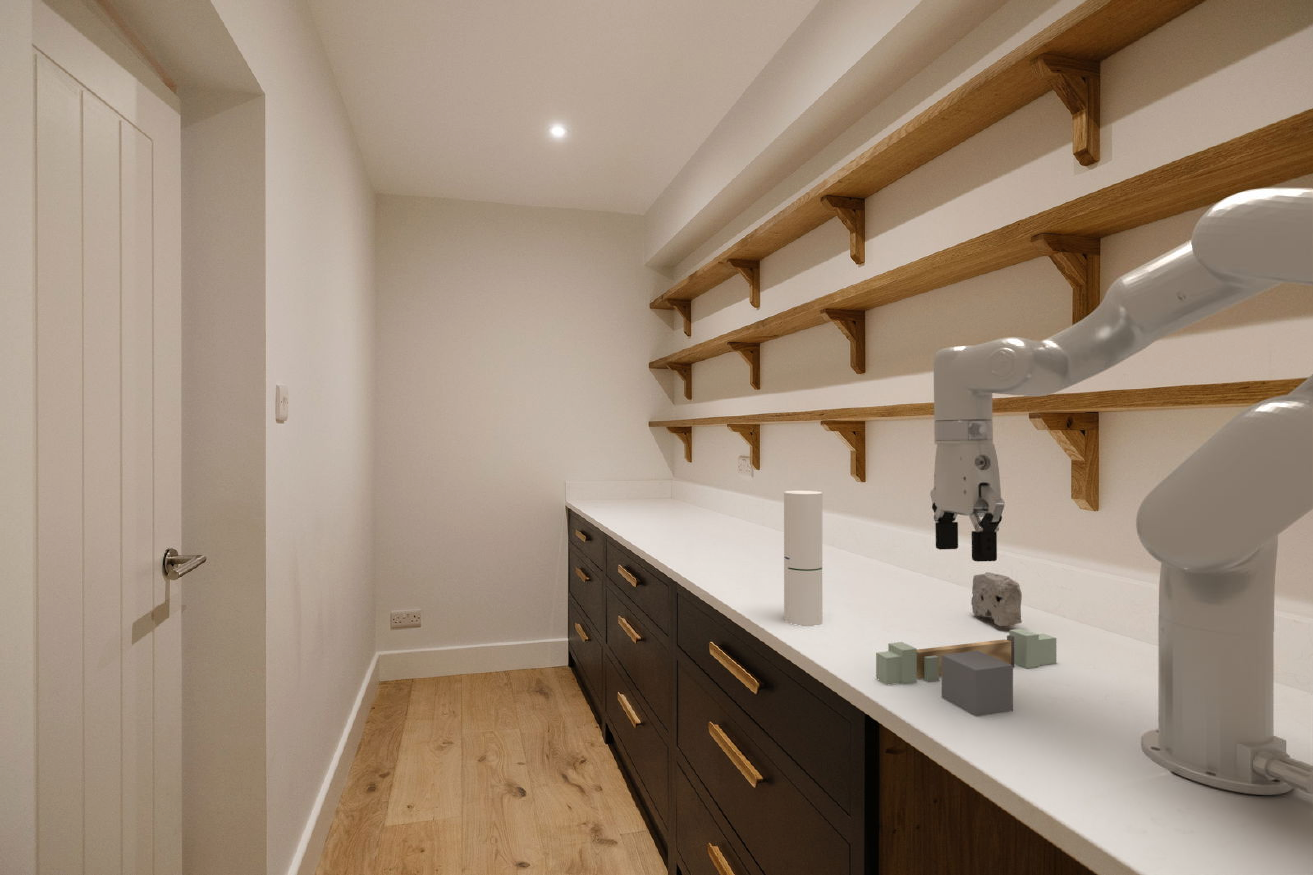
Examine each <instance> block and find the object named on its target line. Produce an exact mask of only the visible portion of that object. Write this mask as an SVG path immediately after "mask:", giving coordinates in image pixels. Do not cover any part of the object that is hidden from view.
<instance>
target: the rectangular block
mask: <svg viewBox="0 0 1313 875" xmlns="http://www.w3.org/2000/svg"><path fill="white" fill-rule="evenodd" d="M1013 670H1014V667H1013V665H1011V664H1008V663H1006V662H1004V661H1001V660H999V659H996V658H994V657H991V656H989V655H987V654H984V653H982V652H979V651H971V652H963V653H954V654H946V655H942V677H941V698H942V699H944V700H945V701H947V702H948V703H950V704H952V705H954V706H956V707H958V708H959V709H961V710H963V711H965V712H967V713H968V714H970V715H972V716H974V717H982V716H988V715H995V714H1001V713H1003V714H1004V713H1007V712H1013V711H1014V671H1013Z"/></svg>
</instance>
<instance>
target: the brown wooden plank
mask: <svg viewBox="0 0 1313 875" xmlns="http://www.w3.org/2000/svg"><path fill="white" fill-rule="evenodd" d="M971 651H979V652H982V653H984V654H987V655H989V656H991V657H994V658H996V659H999V660H1001V661H1004V662H1006V663H1008V664H1011V665H1013V668H1015V664H1014V636H1011V635H1006V639H996V640H989V641H987V640H986V641H981V642H979V641H978V642H971V643H962V644H953V645H944V646H943V645H942V646H936V647H928V648H920V649H919V648H918V649H917V679H918V680H924V657H926V656H935V655H936V656H938V657H939V678H942V655H946V654H954V653H963V652H971Z"/></svg>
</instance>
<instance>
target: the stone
mask: <svg viewBox="0 0 1313 875" xmlns="http://www.w3.org/2000/svg"><path fill="white" fill-rule="evenodd" d="M1020 586H1021V585H1020V583H1018V582H1017V581H1016V580H1014V579H1012V578H1010V577H1009V576H1006V575H1004V574H1000V573H993V572H988V571H987V572H985V573H981V574H980V573H979V574H974V575H973V579H972V586H971V587H972V591H971V592H972V593H971V594H972V597H971V602H970V605H971V607H972V608H971V609H972V614H974V615H975V616H977V617H982V616H983V617H991V618H992V619H993V620H994V622H993V623H994V624H995V625H997V626H999V627H1006V626H1007V627H1009V626H1010V627H1011V626H1012V627H1014V626H1016V625H1017V624H1021V623H1022V612H1021V610H1022V608H1021V607H1022V598H1023V596H1022V591H1021V590H1022V589H1021V588H1020Z"/></svg>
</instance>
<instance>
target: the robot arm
mask: <svg viewBox="0 0 1313 875" xmlns="http://www.w3.org/2000/svg"><path fill="white" fill-rule="evenodd" d="M1284 283H1286V284H1287V283H1288V284H1294V285H1295V284H1296V285H1304V286H1310V287H1311V286H1312V287H1313V187H1261V188H1254V189H1253V188H1252V189H1248V190H1244V191H1240V192H1237V193H1234V194H1231V195H1230V196H1227V197H1225V198H1223V199H1222V200H1220V201H1219V202H1217V203H1215V204H1214V205H1213V206H1211V207H1210V208H1208V210H1206V211H1205V213H1204V214H1202V216H1201V217H1200V218H1199V220H1198V221H1197V223H1196V224H1195V226H1194V229H1193V232H1192V234H1191V239H1189V240H1188V241H1186V242H1183V243H1182V244H1180V245H1178V246H1176V247H1175V248H1173V249H1171V250H1169V251H1167V252H1165V253H1163V254H1161V255H1159V256H1157V257H1154V259H1152V260H1150V261H1148V262H1146V263H1144V264H1142V265H1140V266H1138V267H1137V268H1135V269H1132V270H1130V271H1129V272H1127V273H1125V274H1123V275H1121V276H1119V277H1118V278H1117V279H1116V280H1115V281H1113V283H1112V284H1110V286H1109V288H1108V290H1107V291H1106V294H1105V295H1104V297H1103V300H1102V301H1101V302H1100V304H1099V305H1098V306H1097V307H1096V308H1095V309H1094V310H1093V311H1091V313H1090V314H1088V315H1087V316H1086V317H1084V318H1083V319H1081V320H1080V321H1078V322H1076V323H1074V324H1072V325H1071V326H1069V327H1067V328H1065V329H1063V330H1062V331H1059V332H1058V333H1056V334H1053V335H1052V336H1049V337H1047V338H1044V339H1043V340H1041V341H1040V340H1035V339H1031V338H1030V339H1029V338H1026V337H1020V336H1019V337H1018V336H1008V337H1003V338H997V339H994V340H989V341H987V342H984V343H980V344H974V345H956V346H949V347H945V348H941V349H939V350H938V351H936V354H935V355H934V357H933V413H934V414H933V415H934V416H933V419H934V423H933V424H934V425H933V426H934V428H933V432H934V434H933V435H934V438H933V439H934V445H936V447H935V459H934V473H933V474H934V475H933V477H934V478H933V489H931V490H930V493H929V494H930V499H931V503H932V506H931V508H932V511H933V513H934V515H933V521H934V523H935V524H934V526H935V529H934V530H935V548H936V549H937V550H957V549H959V523H958V521H955V520H956V519H957V516H958V515H961V516H967V517H969V519H970V521H971V525H972V526H973V529H974V530H971V559H972V561H974V562H977V563H978V562H996V561H997V559H998V542H997V541H998V540H997V539H998V538H997V537H998V536H997V535H998V534H997V533H999V531H1000V523H1002V519H1003V516H1002V514H1003V511H1004V508H1005V506H1006V504H1005V500H1004V499H1003V498H1002V491H1001V479H1000V478H1001V477H1000V476H1001V475H1000V469H999V468H1000V467H999V461H998V454H997V450H996V446H995V444H994V426H993V424H994V420H993V418H994V417H993V394H999V395H1009V396H1024V397H1025V396H1027V397H1033V398H1034V397H1035V398H1036V397H1038V398H1039V397H1044V396H1049V395H1052V394H1055V393H1058V392H1060V391H1062V390H1065V389H1068V388H1070V387H1072V386H1074V385H1077V384H1079V383H1081V382H1083V381H1085V380H1088V379H1090V378H1093V377H1094V376H1095V377H1096V376H1097V375H1099V374H1101V373H1103V372H1105V371H1107V370H1109V369H1111V368H1113V367H1115V366H1117V365H1118V364H1120V363H1122V362H1123V361H1125V360H1127V359H1128V358H1130V357H1132V356H1134V355H1136V354H1137V353H1140V352H1142V351H1143V350H1145V349H1146V348H1148V347H1149V346H1151V345H1152V344H1154V343H1155V342H1157V341H1158V340H1161V339H1163V338H1165V337H1168V336H1169V335H1172V334H1174V333H1176V332H1178V331H1180V330H1183V329H1184V328H1187V327H1189V326H1192V325H1193V324H1196V323H1198V322H1200V321H1203V320H1205V319H1207V318H1209V317H1211V316H1214V315H1216V314H1218V313H1220V312H1222V311H1225V310H1227V309H1229V308H1231V307H1235V306H1236V305H1238V304H1241V303H1243V302H1244V301H1247V300H1250V299H1252V298H1254V297H1256V296H1259V295H1260V294H1263V293H1265V292H1267V291H1269V290H1272V289H1273V288H1276V287H1277V286H1280V285H1281V284H1284ZM1312 510H1313V374H1311V375H1310V376H1309V377H1308V378H1306V380H1304V381H1303V382H1302V383H1300V384H1299V385H1298V386H1297V387H1296V388H1294V389H1293V390H1292V391H1290V392H1289V393H1287V394H1285V395H1279V396H1274V397H1270V398H1267V399H1265V400H1261V401H1259V402H1257V403H1255V404H1253V405H1250V406H1249V407H1247V408H1246V409H1244V410H1243V411H1241V412H1240V413H1238V414H1236V416H1234V417H1233V418H1232V419H1230V420H1229V421H1228V422H1227V423H1226V424H1224V426H1222V427H1221V428H1220V429H1218V431H1216V433H1214V434H1213V435H1212V436H1211V437H1210V438H1209V439H1208V440H1207V441H1205V442H1204V443H1203V444H1202V445H1201V446H1200V447H1199V448H1198V449H1196V450H1195V451H1194V452H1193V453H1192V454H1191V455H1190V456H1188V457H1187V458H1186V459H1185V460H1184V461H1183V462H1182V463H1181V464H1180V465H1178V466H1177V467H1176V468H1175V469H1174V470H1172V471H1171V473H1169V474H1168V475H1167V476H1166V477H1165V478H1164V479H1163V480H1161V482H1159V483H1158V484H1157V485H1156V486H1155V487H1154V488H1152V489H1151V491H1150V492H1148V494H1147V495H1146V496H1145V497H1144V499H1143V500H1142V502H1141V504H1140V505H1139V507H1138V509H1137V513H1136V520H1135V526H1136V528H1135V529H1136V532H1137V536H1138V539H1139V541H1140V543H1141V545H1142V546H1143V548H1144V549H1145V550H1146V552H1147V553H1148V554H1149V555H1150V556H1151V557H1152V558H1153V559H1155V560H1157V562H1158V563H1160V573H1159V583H1158V584H1159V586H1158V615H1157V616H1158V619H1157V620H1158V622H1157V623H1158V631H1157V632H1158V635H1157V637H1158V640H1157V641H1158V643H1157V644H1158V646H1157V647H1158V648H1157V649H1158V652H1157V654H1158V657H1157V658H1158V659H1157V660H1158V661H1157V662H1158V666H1157V667H1158V668H1157V669H1158V671H1157V672H1158V675H1157V676H1158V678H1157V679H1158V685H1157V687H1158V708H1157V709H1158V710H1157V711H1158V729H1154V730H1153V729H1152V730H1149V731H1147V732H1145V733H1143V734H1142V736H1141V740H1140V741H1141V745H1140V747H1141V750H1142V752H1143V753H1144V754H1145V756H1147V757H1148V758H1149V759H1150V760H1151V761H1152V762H1154V763H1156V764H1157V765H1159V766H1161V767H1162V768H1164V769H1166V770H1168V771H1171V773H1174V774H1176V775H1178V776H1181V777H1183V778H1185V779H1187V780H1191V781H1194V782H1196V783H1199V784H1203V785H1207V786H1210V787H1211V788H1212V787H1213V788H1216V789H1220V790H1224V791H1225V790H1226V791H1230V792H1235V793H1242V794H1247V795H1248V794H1249V795H1258V796H1259V795H1261V796H1274V795H1282V794H1285V793H1288V792H1290V791H1291V790H1293V789H1294V788H1295V789H1298V790H1300V791H1302V792H1305V793H1308V794H1309V795H1313V765H1312V764H1309V763H1307V762H1304V761H1302V760H1297V759H1295V758H1292V757H1291V756H1290V754H1289V753H1287V740H1286V739H1284V738H1282V737H1281V738H1280V737H1278V736H1275V734H1274V732H1275V730H1274V725H1275V724H1274V722H1275V721H1274V720H1275V719H1274V714H1275V713H1274V709H1275V708H1274V706H1275V705H1274V700H1275V698H1274V690H1275V688H1274V687H1275V686H1274V678H1275V677H1274V676H1275V675H1274V674H1275V673H1274V669H1275V668H1274V667H1275V666H1274V657H1275V656H1274V641H1275V640H1274V637H1275V636H1274V632H1275V589H1276V588H1275V586H1276V585H1275V584H1276V570H1277V557H1278V548H1279V547H1278V545H1279V535H1280V534H1282V533H1283V532H1284V531H1285V530H1286V529H1288V528H1289V527H1291V526H1292V525H1293V524H1294V523H1296V522H1297V521H1299V520H1300V519H1301V518H1302V517H1304V516H1305V515H1307V514H1308V513H1309V512H1311V511H1312ZM981 518H982V519H981Z"/></svg>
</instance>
